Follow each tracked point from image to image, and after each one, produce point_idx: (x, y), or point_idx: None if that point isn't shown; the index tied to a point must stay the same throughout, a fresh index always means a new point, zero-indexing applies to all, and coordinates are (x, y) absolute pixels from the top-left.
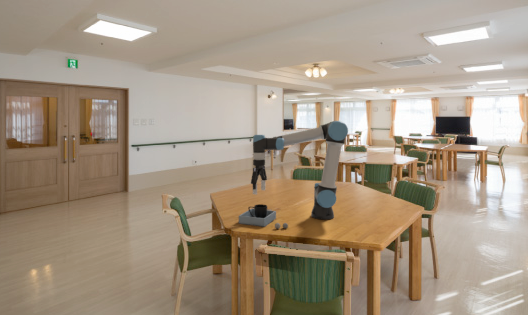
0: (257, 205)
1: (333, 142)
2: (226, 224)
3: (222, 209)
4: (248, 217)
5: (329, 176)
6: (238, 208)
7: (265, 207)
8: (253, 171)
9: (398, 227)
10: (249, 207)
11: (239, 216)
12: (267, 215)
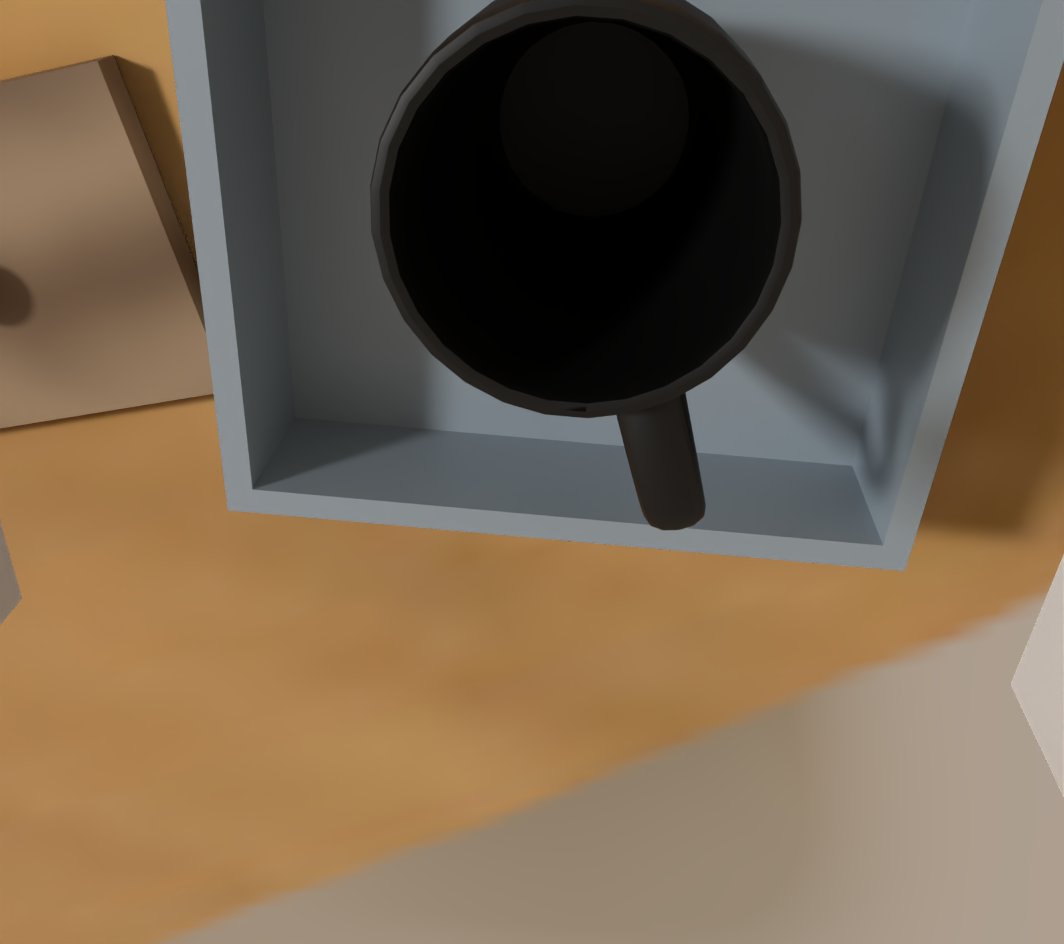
0: (482, 361)
1: None
2: (962, 634)
3: (200, 901)
4: (968, 349)
5: None
6: (7, 746)
7: (684, 13)
8: None
9: None
10: (702, 503)
11: (905, 547)
12: (256, 61)
